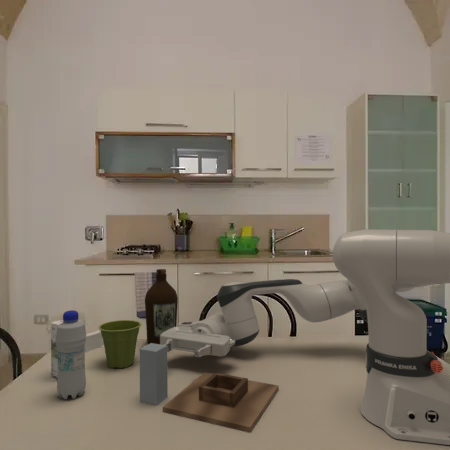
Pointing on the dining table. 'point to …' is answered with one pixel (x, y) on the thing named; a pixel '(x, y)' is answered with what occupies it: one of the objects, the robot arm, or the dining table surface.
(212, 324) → the robot arm
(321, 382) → the dining table surface
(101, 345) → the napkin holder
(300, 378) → the dining table surface
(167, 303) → the olive oil
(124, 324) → the plant pot
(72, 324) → the bottle
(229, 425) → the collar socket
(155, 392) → the grey peg
